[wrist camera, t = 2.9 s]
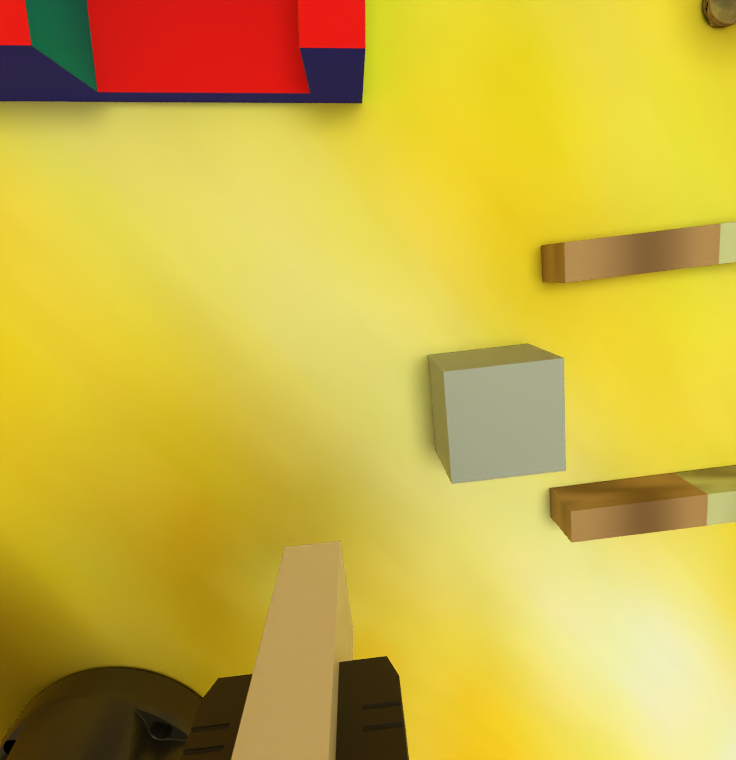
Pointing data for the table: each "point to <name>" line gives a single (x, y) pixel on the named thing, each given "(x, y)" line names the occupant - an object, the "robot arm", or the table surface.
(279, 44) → the building blocks toy
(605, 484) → the channel rails
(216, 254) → the table surface
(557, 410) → the block
